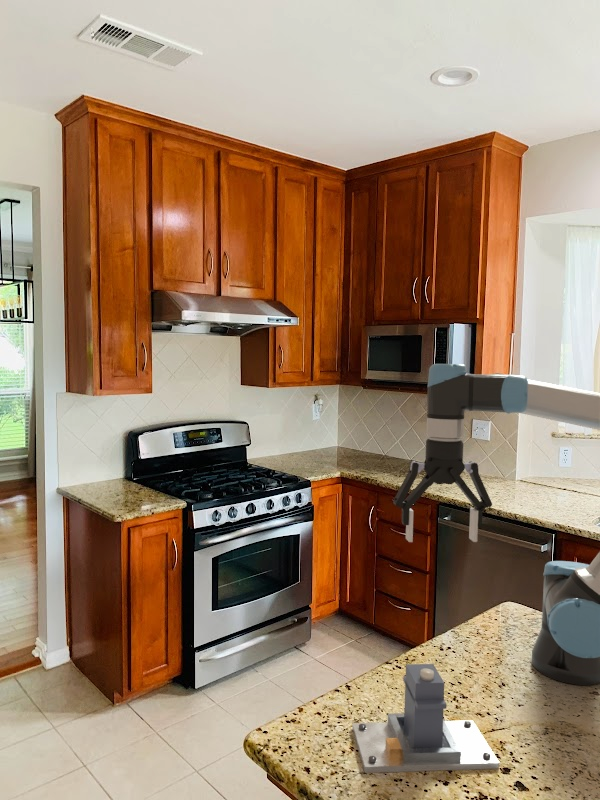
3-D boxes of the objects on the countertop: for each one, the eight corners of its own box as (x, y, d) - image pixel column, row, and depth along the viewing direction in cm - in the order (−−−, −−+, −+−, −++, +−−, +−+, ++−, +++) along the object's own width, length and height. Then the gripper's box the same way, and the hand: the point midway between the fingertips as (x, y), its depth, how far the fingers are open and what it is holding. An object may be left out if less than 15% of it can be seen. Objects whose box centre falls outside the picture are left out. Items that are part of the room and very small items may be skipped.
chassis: (472, 725, 113) (473, 710, 112) (498, 768, 101) (499, 751, 100) (352, 728, 111) (352, 713, 111) (364, 772, 99) (365, 755, 99)
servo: (428, 725, 110) (430, 654, 110) (444, 758, 101) (447, 681, 100) (401, 726, 110) (404, 655, 109) (415, 759, 101) (418, 681, 100)
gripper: (496, 437, 133) (492, 535, 134) (381, 435, 131) (378, 535, 132) (511, 441, 125) (506, 545, 126) (389, 440, 123) (386, 545, 124)
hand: (441, 540), depth 129 cm, fingers open, 13 cm apart
